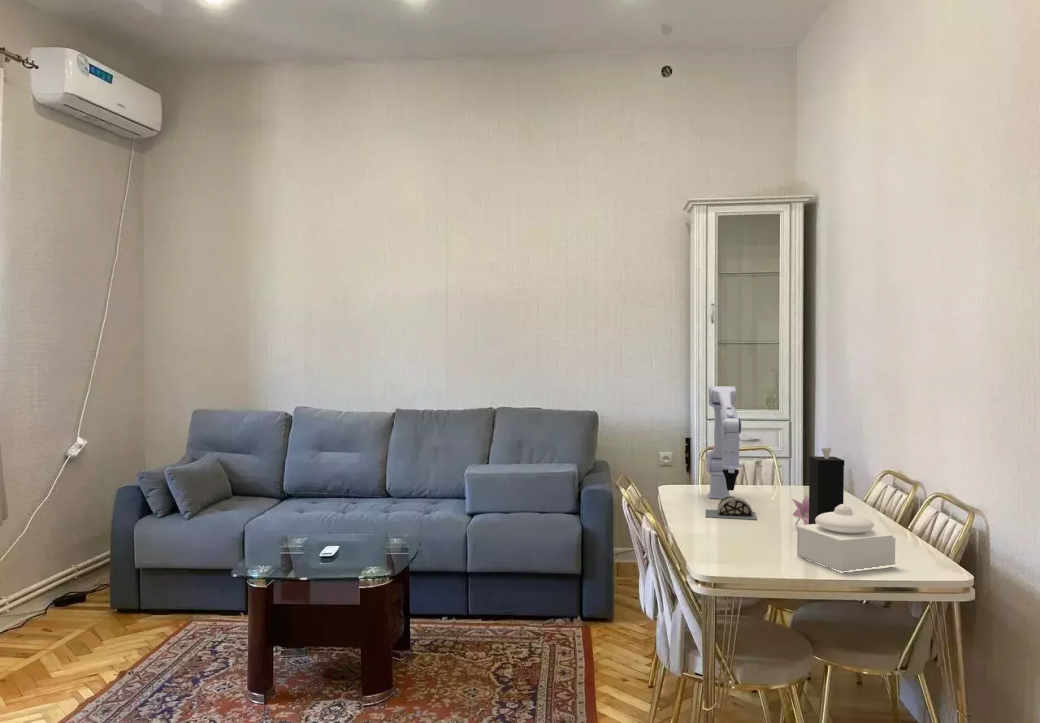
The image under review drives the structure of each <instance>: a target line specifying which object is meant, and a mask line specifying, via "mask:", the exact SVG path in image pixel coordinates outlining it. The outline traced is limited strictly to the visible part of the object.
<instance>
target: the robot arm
mask: <svg viewBox="0 0 1040 723" xmlns="http://www.w3.org/2000/svg"><path fill="white" fill-rule="evenodd" d="M736 400H737V389H736V386H735V385H733V386H724V385H722V386H720V385H718V386H716V385H715V386H713V385H710V386H709V387H708V405H709V407H712V408H713V411H714V437H713V438H714V440H713V441H714V446H713V448H712V449H711V450H710V451H709V452H707V454H706V467H705V468H706V472H707V474H709V492H708V498H709V499H718V500H722V499H724V498H726V497H729V496H731V493H730V491H732V492H733V491H734V490H735V487H736V480H737V479H738V478H737V477H738V476H739V474H740V470H739V469H738V468H742V467H743V466H744V465H743V464H742V463H740V435H741V432H742V420H741V418H740V417H739V416H738V414H737V410H736V408H735V406H734V404H735V402H736Z"/></svg>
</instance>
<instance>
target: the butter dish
mask: <svg viewBox="0 0 1040 723" xmlns="http://www.w3.org/2000/svg"><path fill="white" fill-rule="evenodd" d="M815 522H816V523H817V524H809V525H805V524H800V525H798V524H796V525H795V529H797V539H796V540H797V544H796V545H797V547H796V548H797V551H796V552H797V553H796V554H797V555H796V556H797V557H798V556H800V557H803V558H805V559H808V560H811V561H814V562H817V563H820V564H822V565H825V566H828V567H831V568H833V569H836V570H839V571H842V572H843V571H849V570H856V569H864V568H872V567H879V566H886V565H893V564H895V565H896V537H895V536H894V535H893V534H889V533H886V532H883V531H880V530H876V529H873V528H874V527H875V524H874V521H873V520H871V519H870V518H869V517H867V516H864V515H862V514H858V513H854V512H853V509H852V508H851V506H849V505H847V504H844V503H843V504H840V505H838V506H837V507H835V510H834V512H827V513H823V514H820V515H818V516H817V517H816V518H815ZM800 557H799V558H800ZM803 558H802V559H803ZM805 559H804V560H805ZM808 560H807V561H808ZM811 561H810V562H811Z"/></svg>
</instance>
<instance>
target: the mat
mask: <svg viewBox="0 0 1040 723" xmlns="http://www.w3.org/2000/svg"><path fill="white" fill-rule="evenodd" d="M705 510H706V511H705V518H707V517H712V519H726V518H728V520H745V521H746V520H748V521H758V517H757V514H756V512H755V511H752V512H753V516H740V515H717V509H705Z"/></svg>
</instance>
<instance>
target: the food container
mask: <svg viewBox="0 0 1040 723" xmlns="http://www.w3.org/2000/svg"><path fill="white" fill-rule="evenodd" d="M716 510H717V515H740V516H753V512H754V511H753V509H752V507H751V505H750V504H749V503H748V502H747V501H746V500H745V499H743V498H740V497H736V496H731V495H730V496H729V497H726V498H724V499H720V501H719V503H718V506H717V509H716Z"/></svg>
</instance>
